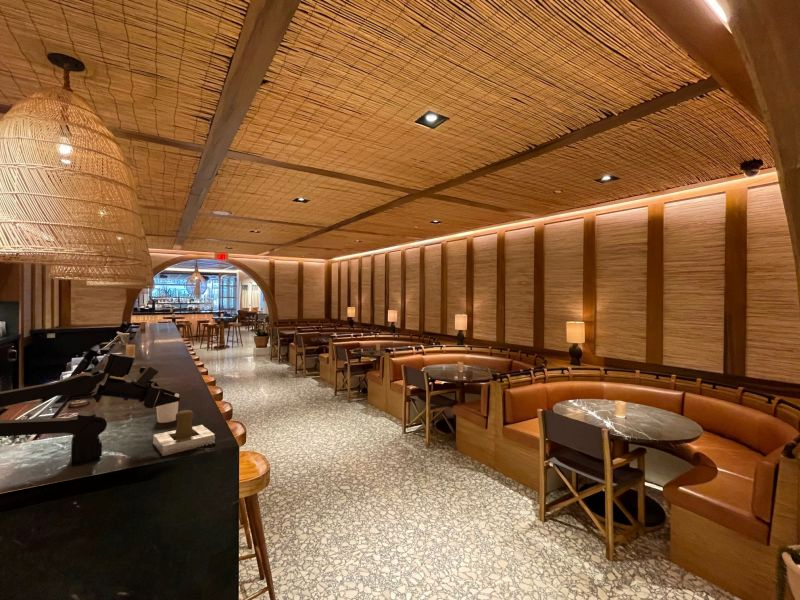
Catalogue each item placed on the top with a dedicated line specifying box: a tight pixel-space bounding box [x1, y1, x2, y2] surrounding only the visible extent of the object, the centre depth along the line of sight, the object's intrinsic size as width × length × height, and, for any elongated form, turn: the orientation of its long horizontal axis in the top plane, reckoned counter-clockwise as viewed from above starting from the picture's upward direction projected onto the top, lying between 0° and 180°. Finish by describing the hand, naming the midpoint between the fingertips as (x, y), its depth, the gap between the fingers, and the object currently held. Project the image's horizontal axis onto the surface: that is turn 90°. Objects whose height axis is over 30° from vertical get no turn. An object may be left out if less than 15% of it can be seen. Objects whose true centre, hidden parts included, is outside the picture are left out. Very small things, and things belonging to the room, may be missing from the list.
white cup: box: [155, 392, 180, 424], centre depth 147 cm, size 8×8×10 cm
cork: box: [175, 409, 194, 440], centre depth 122 cm, size 6×6×11 cm
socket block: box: [152, 424, 216, 457], centre depth 122 cm, size 15×14×3 cm
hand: (177, 396), depth 124 cm, fingers open, 9 cm apart
